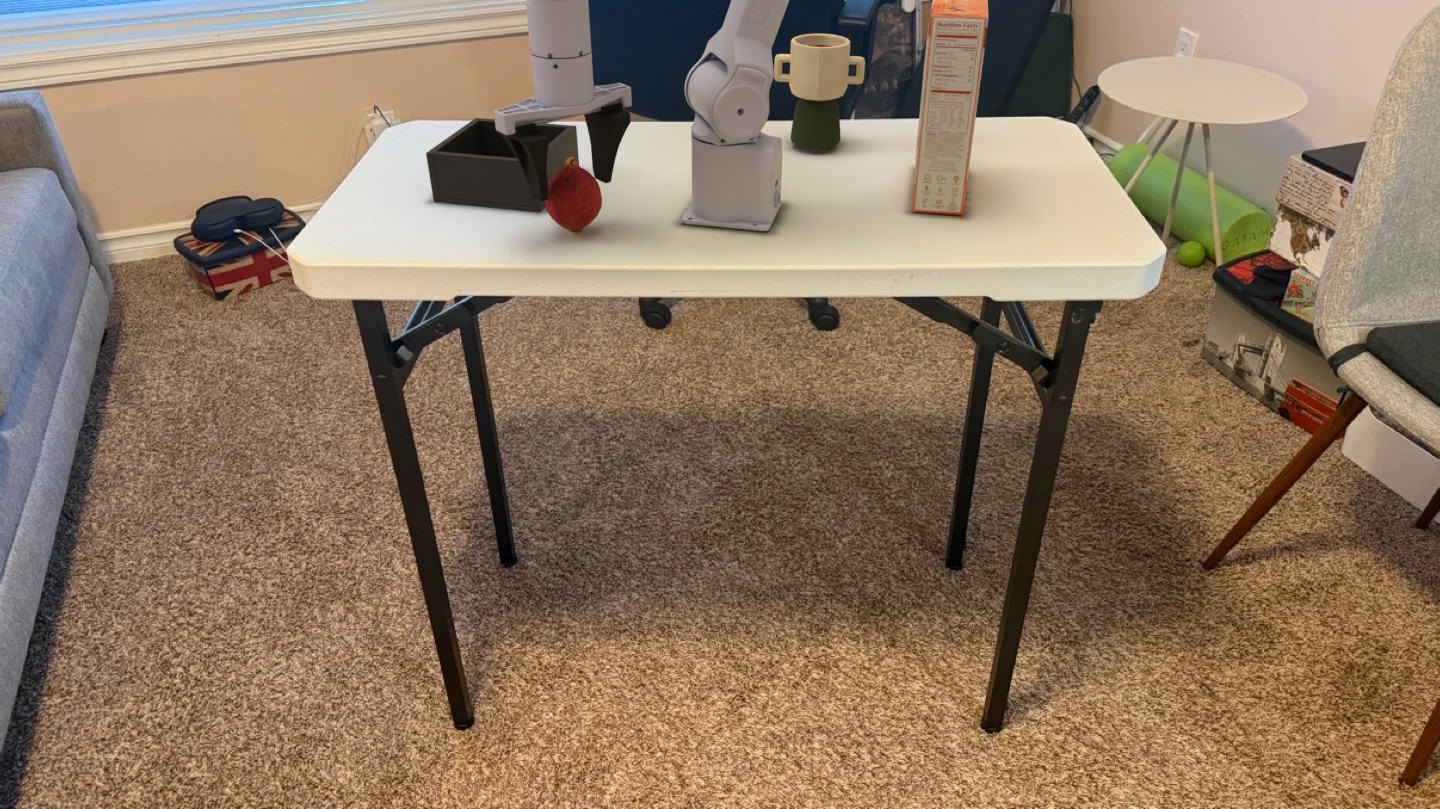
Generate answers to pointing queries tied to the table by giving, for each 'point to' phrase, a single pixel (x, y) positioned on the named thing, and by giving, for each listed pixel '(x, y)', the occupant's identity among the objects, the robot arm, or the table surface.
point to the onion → (573, 197)
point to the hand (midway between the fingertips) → (571, 188)
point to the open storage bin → (492, 166)
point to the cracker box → (949, 104)
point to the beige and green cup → (818, 86)
